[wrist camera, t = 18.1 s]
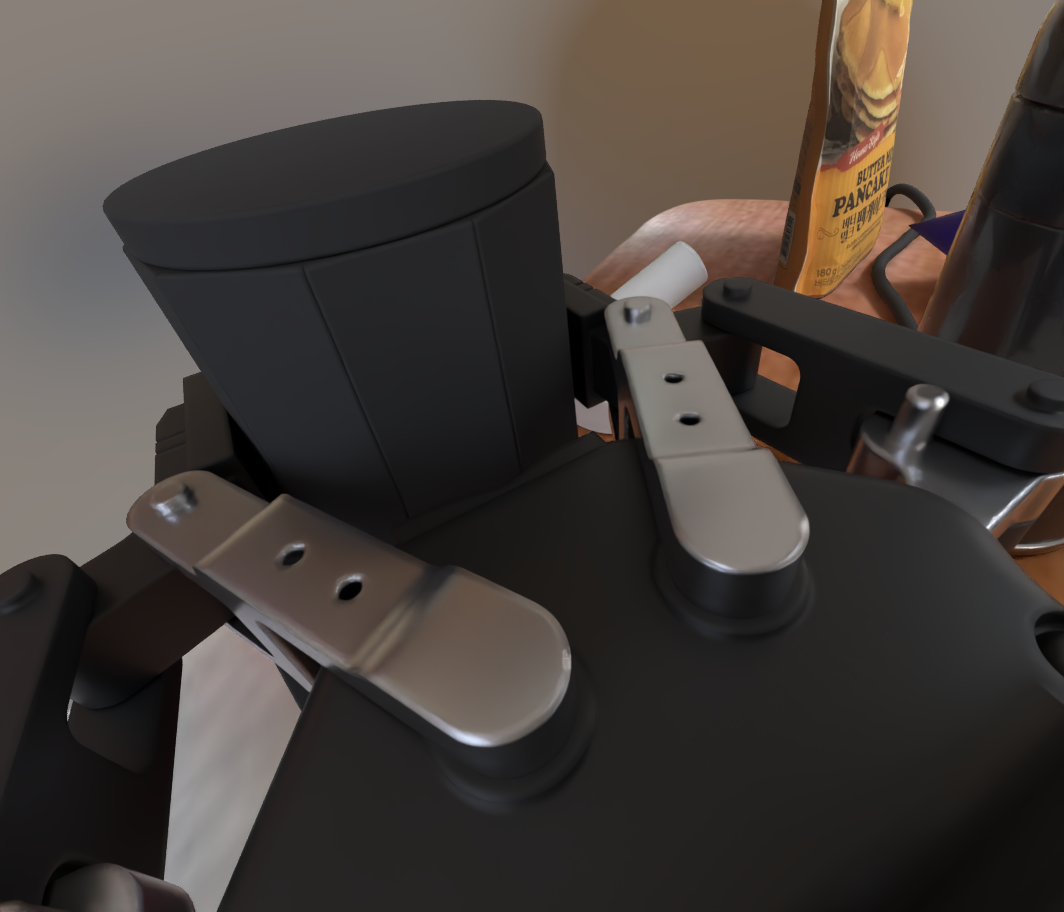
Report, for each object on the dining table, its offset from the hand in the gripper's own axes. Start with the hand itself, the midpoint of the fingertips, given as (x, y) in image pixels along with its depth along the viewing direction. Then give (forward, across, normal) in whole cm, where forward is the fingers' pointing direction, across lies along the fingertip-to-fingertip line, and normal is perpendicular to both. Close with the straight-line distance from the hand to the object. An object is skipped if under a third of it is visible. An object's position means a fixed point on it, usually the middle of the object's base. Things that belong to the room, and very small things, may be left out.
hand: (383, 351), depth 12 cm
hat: (-2, 0, +6) cm, 7 cm away
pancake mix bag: (+18, -42, +16) cm, 48 cm away
